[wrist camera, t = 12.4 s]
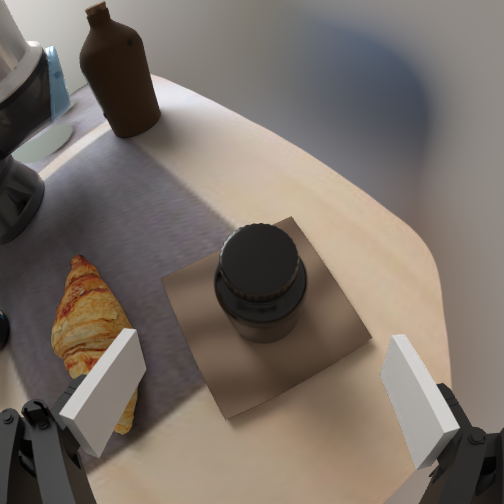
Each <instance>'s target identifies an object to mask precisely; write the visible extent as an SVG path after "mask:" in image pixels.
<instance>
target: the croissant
mask: <svg viewBox="0 0 504 504" xmlns="http://www.w3.org/2000/svg"><path fill="white" fill-rule="evenodd" d="M70 265H71V272H69V275H68V276H67V279H66V284H65V288H64V290H65V293H64V295H63V298H62V300H61V303H60V305H59V307H57V308H56V309H57V310H56V319H55V321H54V324H53V327H52V335H51V343H52V348H53V351H54V353H55V354H56V355H58V357H59V358H61V359H64V364H65V367H66V369H67V370H68V372H69V374H70V376H71V377H72V379H75V378H77V377H78V376H80V375H81V374H85V375H88V374H89V372H90V371H91V370H92V368H93V367H94V366H95V364H96V363H97V362H98V361H99V359H100V358H101V357H102V355H103V354H104V353H105V352H106V350H107V349H108V348H109V346H110V345H111V344H112V343H113V341H114V340H115V339H116V338H117V336H118V335H119V334H120V333H121V331H122V330H123V329H124V328H127V329H133V328H132V326H131V324H130V323H129V321H128V319H127V316H126V314H125V312H124V310H123V308H122V306H121V305H120V304H119V302H118V301H117V299H116V298H115V296H114V295H113V293H112V292H111V290H110V288H109V287H108V285H107V284H106V283H105V282H104V281H103V280H102V279H101V276H100V274H99V272H98V270H97V269H96V267H95V266H94V265H92V264H91V263H89V262H88V261H87V260H86V259H85V258H84V256H82V255H80V254H78V255H77V256H75V257H74V258H72V260H71V262H70ZM137 388H138V386H137ZM137 388H136V389H135V391H134V393H133V395H132V397H131V399H130V400H129V402H128V404H127V406H126V408H125V410H124V412H123V413H122V415H121V417H120V419H119V421H118V423H117V425H116V427H115V429H114V431H116V432H117V433H120V434H122V435H123V434H125V433H127V432H129V430H130V429H131V427H132V424H133V423H132V421H133V418H134V416H133V414H134V409H135V404H136V401H137V395H138V392H137Z"/></svg>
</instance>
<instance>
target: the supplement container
mask: <svg viewBox="0 0 504 504" xmlns="http://www.w3.org/2000/svg"><path fill="white" fill-rule="evenodd" d="M8 337H9V322H8V319H7V317H6V315H5V314H4V312H3V311H1V310H0V351H1V350H2V349H3V348H4V347H5V345H6V344H7V341H8Z"/></svg>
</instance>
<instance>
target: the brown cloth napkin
mask: <svg viewBox="0 0 504 504" xmlns="http://www.w3.org/2000/svg"><path fill="white" fill-rule="evenodd" d="M271 226H276V227H277V228H280V229H282V230H283V231H284V232H286V233H288V235H289V237H291V238H292V239H293V242H294V243H295V244H296V249H297V251H298V253H299V255H300V256H301V257H302V259H303V261H304V263H305V265H306V267H307V270H308V275H309V288H308V293H307V297H306V300H305V303H304V306H303V309H302V311H301V314H300V317H299V320H298V322H297V324H296V326H295V327H294V329H293V330H292V331H291V332H290V333H289V334H288V335H287V336H286V337H285V338H283V339H281V340H279V341H277V342H274V343H268V344H260V343H255V342H251V341H249V340H247V339H245V338H244V337H242V336H241V335H240V334H239V333H238V332H237V331H236V330H235V328H234V327H233V326H232V324H231V322H230V321H229V319H228V318H227V316H226V315H225V313H224V311H223V310H222V308H221V306H220V305H219V303H218V300H217V298H216V295H215V291H214V275H215V271H216V268H217V265H218V263H219V260H220V258H219V255H220V253H221V250H219V251H217V252H214V253H212V254H210V255H208V256H206V257H204V258H202V259H200V260H198V261H196V262H194V263H192V264H190V265H187V266H185V267H183V268H181V269H179V270H177V271H175V272H173V273H171V274H169V275H167V276H165V277H163V278H161V280H162V283H163V285H164V288H165V290H166V293H167V296H168V298H169V301H170V303H171V306H172V308H173V310H174V313H175V315H176V318H177V320H178V322H179V325H180V327H181V329H182V332H183V334H184V336H185V339H186V341H187V343H188V345H189V348H190V350H191V352H192V354H193V356H194V358H195V361H196V363H197V365H198V367H199V369H200V371H201V373H202V375H203V377H204V379H205V381H206V384H207V386H208V388H209V390H210V392H211V393H212V395H213V397H214V399H215V401H216V403H217V405H218V407H219V409H220V411H221V413H222V415H223V416H224V418H225V420H226V419H228V418H231V417H233V416H235V415H237V414H240V413H242V412H244V411H246V410H248V409H250V408H253V407H255V406H257V405H259V404H261V403H263V402H265V401H267V400H269V399H271V398H273V397H275V396H277V395H279V394H281V393H282V392H284V391H286V390H288V389H290V388H292V387H294V386H296V385H297V384H299V383H301V382H303V381H304V380H306V379H308V378H310V377H311V376H313V375H315V374H317V373H318V372H320V371H322V370H323V369H325V368H327V367H328V366H330V365H332V364H333V363H335V362H336V361H338V360H340V359H341V358H343V357H344V356H346V355H347V354H349V353H351V352H352V351H354V350H355V349H357V348H358V347H360V346H361V345H363V344H364V343H365V342H367V341H368V340H370V339H371V338H372V337H371V335H370V333H369V332H368V330H367V329H366V327H365V325H364V324H363V322H362V321H361V319H360V317H359V316H358V314H357V313H356V311H355V310H354V308H353V306H352V305H351V303H350V302H349V300H348V299H347V297H346V296H345V294H344V292H343V291H342V289H341V288H340V286H339V285H338V283H337V282H336V280H335V279H334V277H333V276H332V274H331V273H330V271H329V270H328V268H327V267H326V265H325V264H324V262H323V261H322V259H321V258H320V257H319V255H318V254H317V252H316V251H315V249H314V248H313V246H312V245H311V244H310V242H309V241H308V239H307V238H306V236H305V235H304V233H303V232H302V231H301V229H300V228H299V226H298V225H297V224H296V222H295V221H294V219H293V218H292V217H289V218H286V219H284V220H282V221H280V222H278V223H276V224H274V225H271Z"/></svg>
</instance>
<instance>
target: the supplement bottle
mask: <svg viewBox="0 0 504 504" xmlns="http://www.w3.org/2000/svg"><path fill="white" fill-rule="evenodd" d="M219 258H220V260H219V263H218V265H217V268H216V271H215V275H214V291H215V295H216V298H217V300H218V303H219V305H220V306H221V308H222V310H223V311H224V313H225V315H226V316H227V318H228V319H229V321H230V322H231V324H232V326H233V327H234V328H235V330H236V331H237V332H238V333H239V334H240V335H241V336H242V337H244V338H245V339H247V340H249V341H251V342H255V343H260V344H268V343H274V342H277V341H279V340H281V339H283V338H285V337H286V336H287V335H288V334H289V333H290V332H291V331H292V330H293V329H294V327H295V326H296V324H297V322H298V320H299V317H300V314H301V311H302V309H303V306H304V303H305V300H306V297H307V293H308V288H309V275H308V270H307V267H306V265H305V263H304V261H303V259H302V257H301V256H300V255H299V253H298V251H297V249H296V244H295V243H294V242H293V239H292V238H291V237H289V235H288V233H286V232H284V231H283V230H282V229H280V228H277V227H276V226H271V225H270V224H263V223H259V224H251V225H246V226H244V227H241V228H239V229H238V230H236V231H234V232H233V233H232V235H230V236H228V238H227V240H226V241H225V242H224V245H223V247H222V248H221V253H220V255H219Z"/></svg>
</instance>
